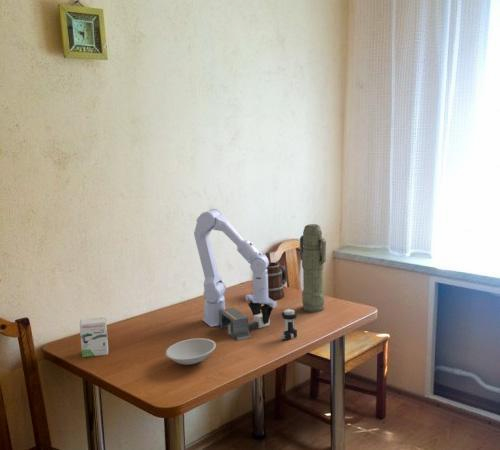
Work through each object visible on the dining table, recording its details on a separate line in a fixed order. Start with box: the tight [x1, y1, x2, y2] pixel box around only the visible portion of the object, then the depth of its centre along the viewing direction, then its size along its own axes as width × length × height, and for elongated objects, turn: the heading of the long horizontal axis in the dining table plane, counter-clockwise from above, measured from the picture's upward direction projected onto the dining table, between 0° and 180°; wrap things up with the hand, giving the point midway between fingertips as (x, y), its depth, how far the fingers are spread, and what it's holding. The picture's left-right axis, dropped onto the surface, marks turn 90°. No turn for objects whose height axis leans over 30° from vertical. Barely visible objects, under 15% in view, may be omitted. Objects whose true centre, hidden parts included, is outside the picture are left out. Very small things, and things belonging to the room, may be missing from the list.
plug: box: [227, 312, 271, 336], centre depth 192 cm, size 4×17×4 cm, turn 126°
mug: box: [267, 261, 288, 301], centre depth 231 cm, size 16×12×15 cm
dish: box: [165, 337, 217, 366], centre depth 164 cm, size 18×14×5 cm
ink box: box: [79, 316, 109, 358], centre depth 174 cm, size 9×5×12 cm, turn 103°
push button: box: [280, 308, 298, 341], centre depth 182 cm, size 7×5×10 cm
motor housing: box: [218, 307, 252, 341], centre depth 190 cm, size 18×6×7 cm, turn 26°
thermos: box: [299, 223, 327, 313], centre depth 210 cm, size 9×12×35 cm
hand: (261, 321), depth 195 cm, fingers closed on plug, 4 cm apart
